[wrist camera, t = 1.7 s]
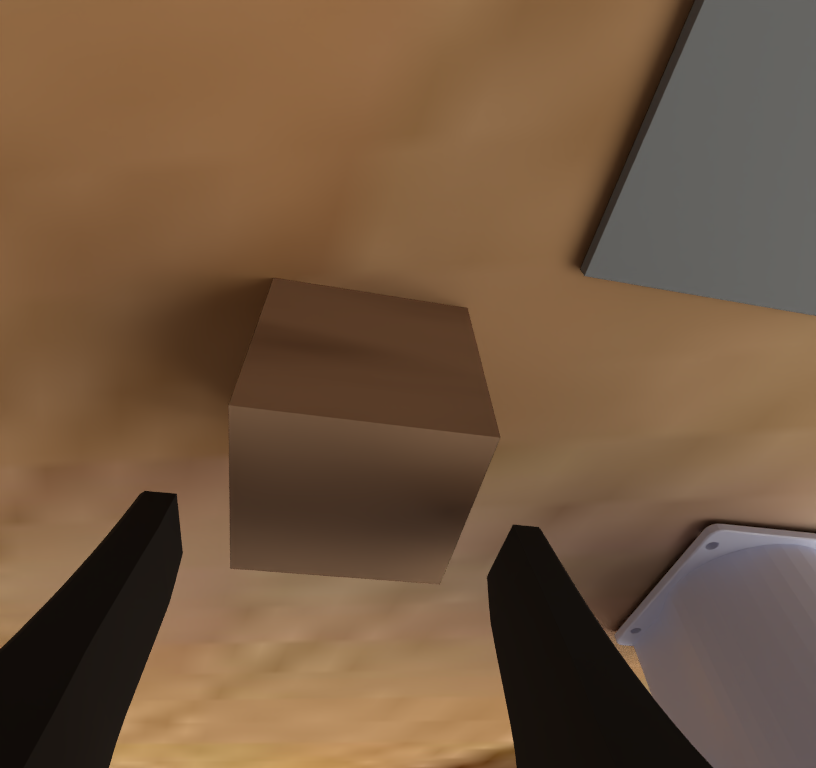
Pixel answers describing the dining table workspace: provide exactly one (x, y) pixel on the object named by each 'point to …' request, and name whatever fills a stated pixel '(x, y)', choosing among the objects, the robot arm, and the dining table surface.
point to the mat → (724, 164)
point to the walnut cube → (356, 435)
